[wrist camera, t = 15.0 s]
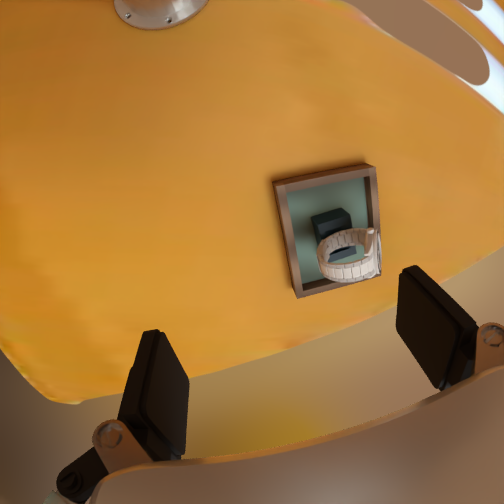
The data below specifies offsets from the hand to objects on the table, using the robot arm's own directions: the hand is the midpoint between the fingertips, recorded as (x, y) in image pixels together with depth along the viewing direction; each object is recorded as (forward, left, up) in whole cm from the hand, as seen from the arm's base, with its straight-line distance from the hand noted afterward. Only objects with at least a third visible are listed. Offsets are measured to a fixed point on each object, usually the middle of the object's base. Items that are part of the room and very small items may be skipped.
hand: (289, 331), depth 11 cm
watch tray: (+9, +10, -28) cm, 31 cm away
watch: (+9, +10, -27) cm, 30 cm away
